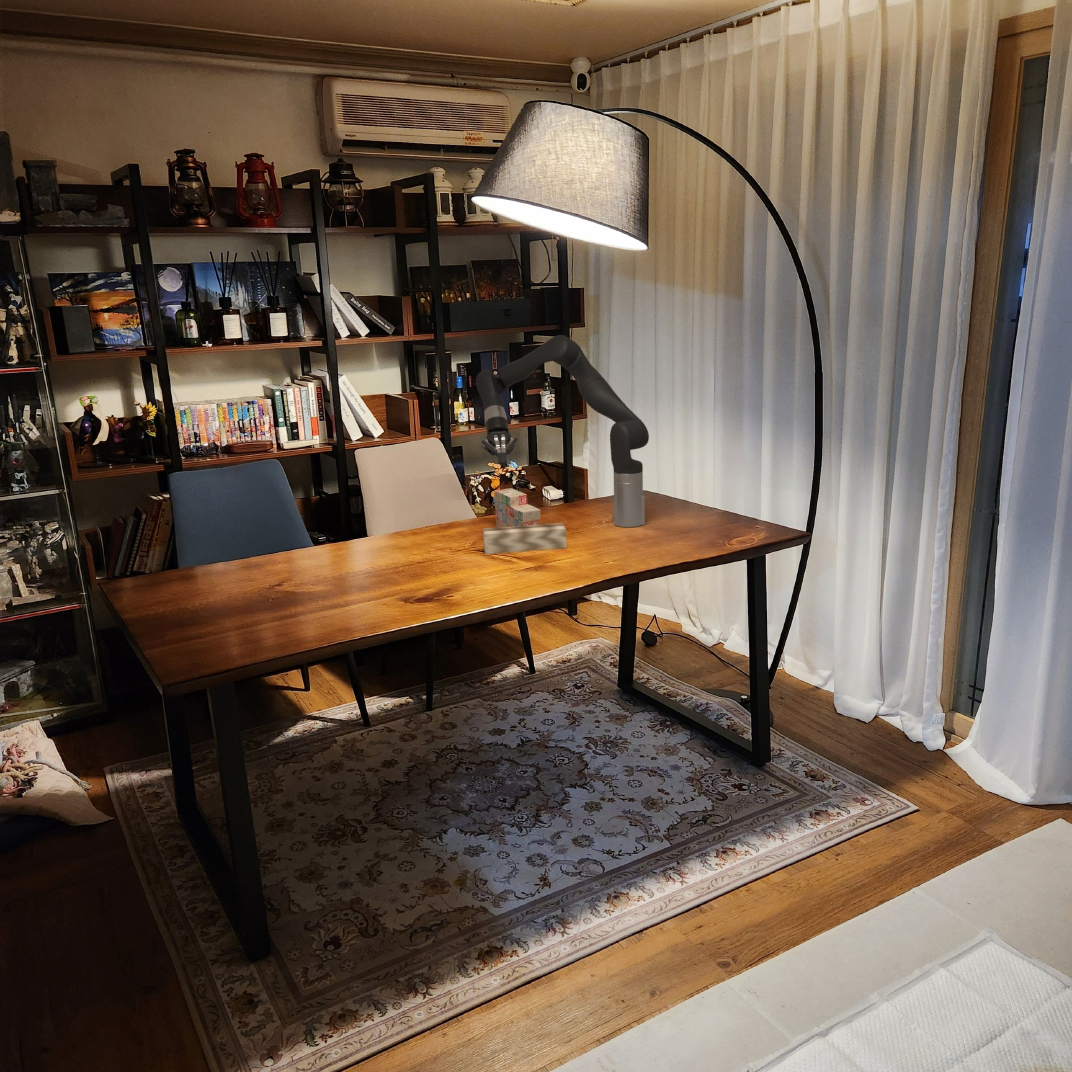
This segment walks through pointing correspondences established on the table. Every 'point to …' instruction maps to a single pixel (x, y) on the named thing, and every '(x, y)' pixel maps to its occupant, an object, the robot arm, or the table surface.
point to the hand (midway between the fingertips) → (502, 464)
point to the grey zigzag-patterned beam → (524, 538)
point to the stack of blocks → (514, 509)
